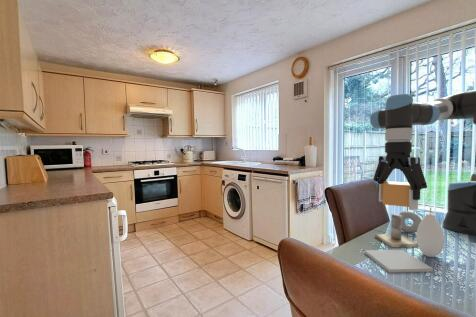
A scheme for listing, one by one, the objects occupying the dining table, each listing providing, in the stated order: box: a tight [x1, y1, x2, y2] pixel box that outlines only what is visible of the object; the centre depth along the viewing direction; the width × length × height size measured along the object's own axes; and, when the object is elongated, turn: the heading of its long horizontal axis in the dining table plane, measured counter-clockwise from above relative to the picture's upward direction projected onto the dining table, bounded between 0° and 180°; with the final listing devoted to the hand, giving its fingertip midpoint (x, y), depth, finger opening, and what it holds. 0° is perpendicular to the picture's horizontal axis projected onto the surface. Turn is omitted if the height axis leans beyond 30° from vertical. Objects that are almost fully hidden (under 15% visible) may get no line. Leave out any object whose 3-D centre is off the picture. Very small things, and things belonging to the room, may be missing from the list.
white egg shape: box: [415, 206, 445, 258], centre depth 86 cm, size 8×8×18 cm
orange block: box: [382, 180, 411, 208], centre depth 81 cm, size 8×8×7 cm
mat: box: [364, 249, 434, 273], centre depth 82 cm, size 14×14×1 cm
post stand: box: [374, 213, 419, 248], centre depth 99 cm, size 11×11×11 cm
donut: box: [398, 210, 422, 234], centre depth 110 cm, size 10×3×10 cm, turn 47°
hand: (396, 205), depth 81 cm, fingers closed on orange block, 11 cm apart
